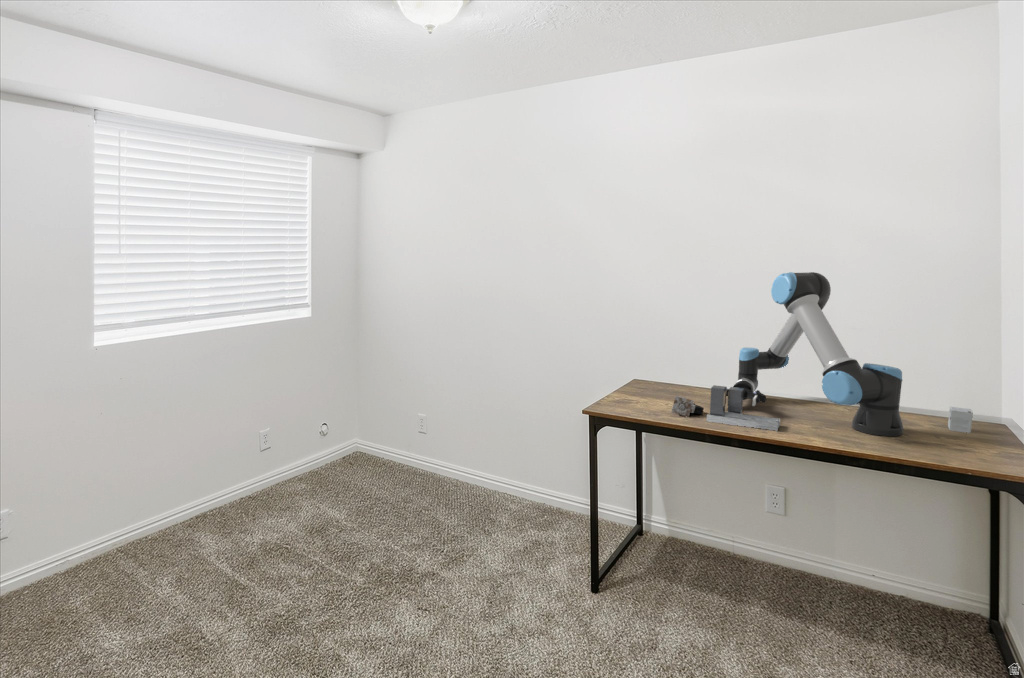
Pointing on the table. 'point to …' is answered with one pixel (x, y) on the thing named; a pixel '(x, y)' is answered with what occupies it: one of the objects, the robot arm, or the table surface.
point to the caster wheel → (685, 407)
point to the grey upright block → (735, 400)
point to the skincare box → (960, 419)
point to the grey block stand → (738, 419)
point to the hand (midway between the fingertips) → (734, 400)
